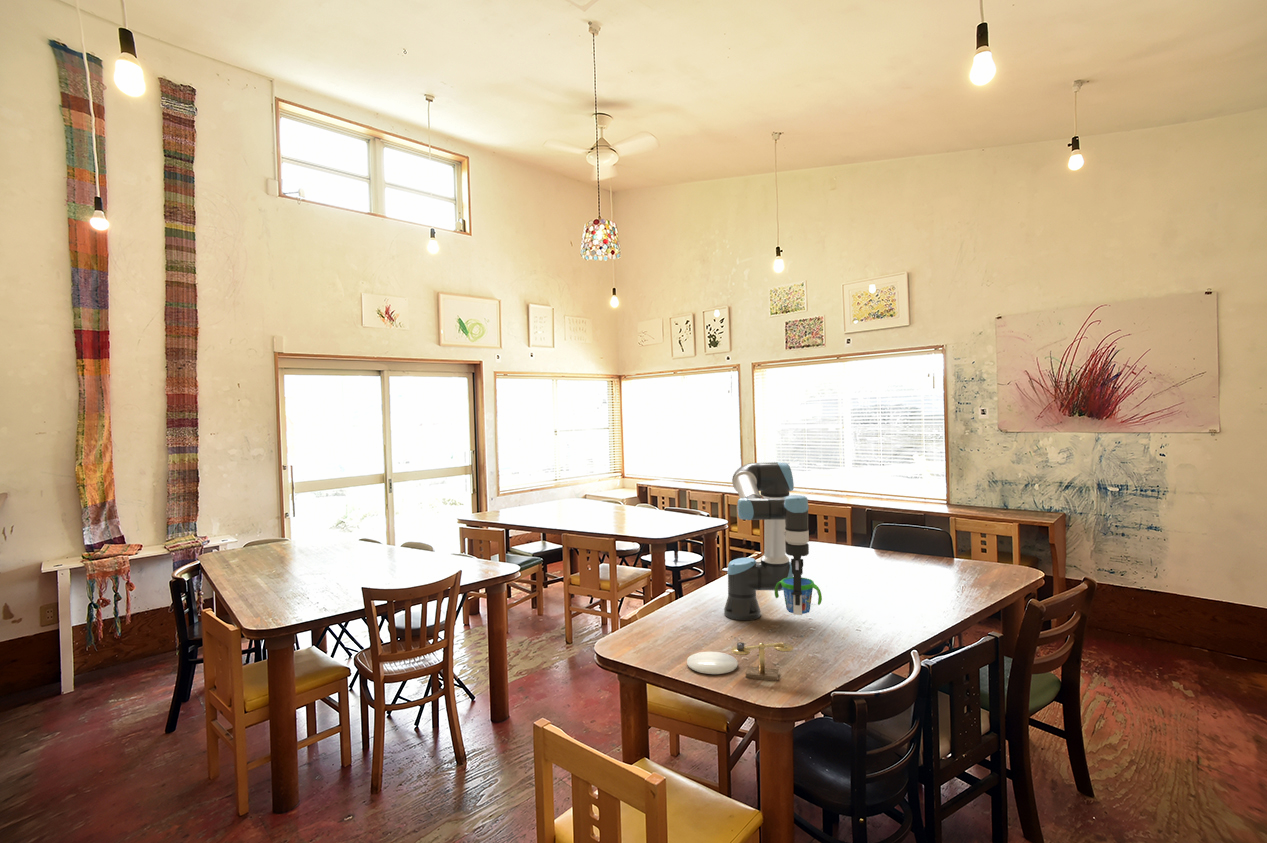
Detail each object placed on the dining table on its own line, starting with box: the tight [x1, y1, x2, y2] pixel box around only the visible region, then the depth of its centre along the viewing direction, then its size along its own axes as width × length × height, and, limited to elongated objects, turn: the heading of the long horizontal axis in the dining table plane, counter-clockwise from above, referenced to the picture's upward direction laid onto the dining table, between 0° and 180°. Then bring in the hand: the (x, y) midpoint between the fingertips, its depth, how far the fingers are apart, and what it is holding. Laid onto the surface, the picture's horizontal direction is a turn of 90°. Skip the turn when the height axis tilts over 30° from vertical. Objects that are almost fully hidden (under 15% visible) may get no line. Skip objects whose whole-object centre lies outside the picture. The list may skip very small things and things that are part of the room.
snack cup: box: [774, 576, 823, 615], centre depth 201 cm, size 16×10×10 cm
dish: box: [686, 651, 739, 675], centre depth 204 cm, size 17×17×1 cm
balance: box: [731, 641, 794, 682], centre depth 196 cm, size 6×20×11 cm, turn 73°
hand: (797, 609), depth 201 cm, fingers closed on snack cup, 9 cm apart
